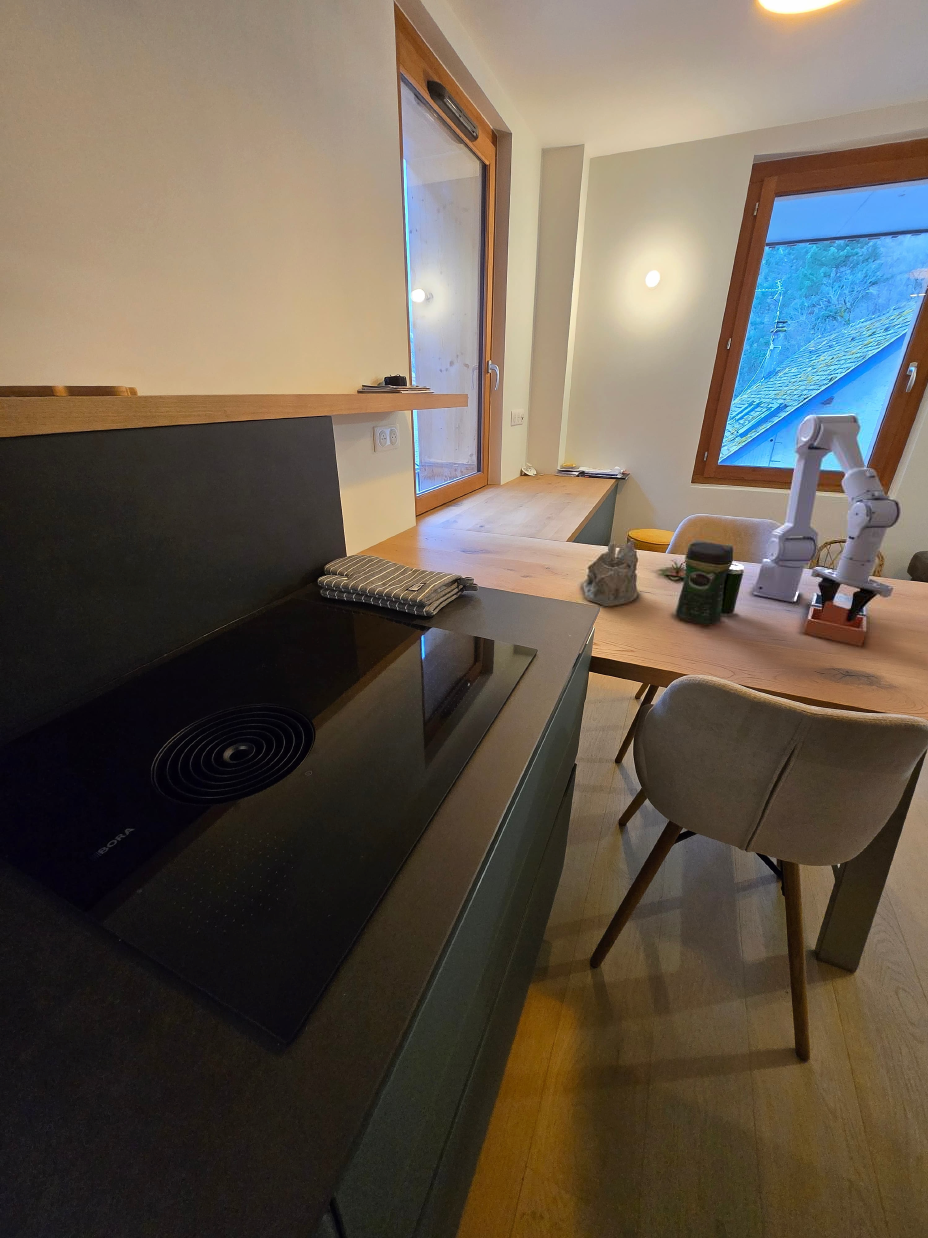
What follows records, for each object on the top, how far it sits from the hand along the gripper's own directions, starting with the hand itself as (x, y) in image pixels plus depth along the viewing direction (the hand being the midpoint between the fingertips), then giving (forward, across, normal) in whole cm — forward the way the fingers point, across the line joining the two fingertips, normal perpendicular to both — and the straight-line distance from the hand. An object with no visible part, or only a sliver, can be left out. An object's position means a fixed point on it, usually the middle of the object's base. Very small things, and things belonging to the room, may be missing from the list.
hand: (837, 616), depth 109 cm
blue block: (+3, +4, -9) cm, 11 cm away
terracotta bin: (+4, 0, 0) cm, 4 cm away
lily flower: (+4, +42, 0) cm, 42 cm away
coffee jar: (+4, +20, +20) cm, 28 cm away
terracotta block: (+1, 0, 0) cm, 1 cm away
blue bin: (+4, +4, -9) cm, 11 cm away
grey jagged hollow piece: (+4, +43, +27) cm, 51 cm away
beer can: (+4, +19, +12) cm, 23 cm away
